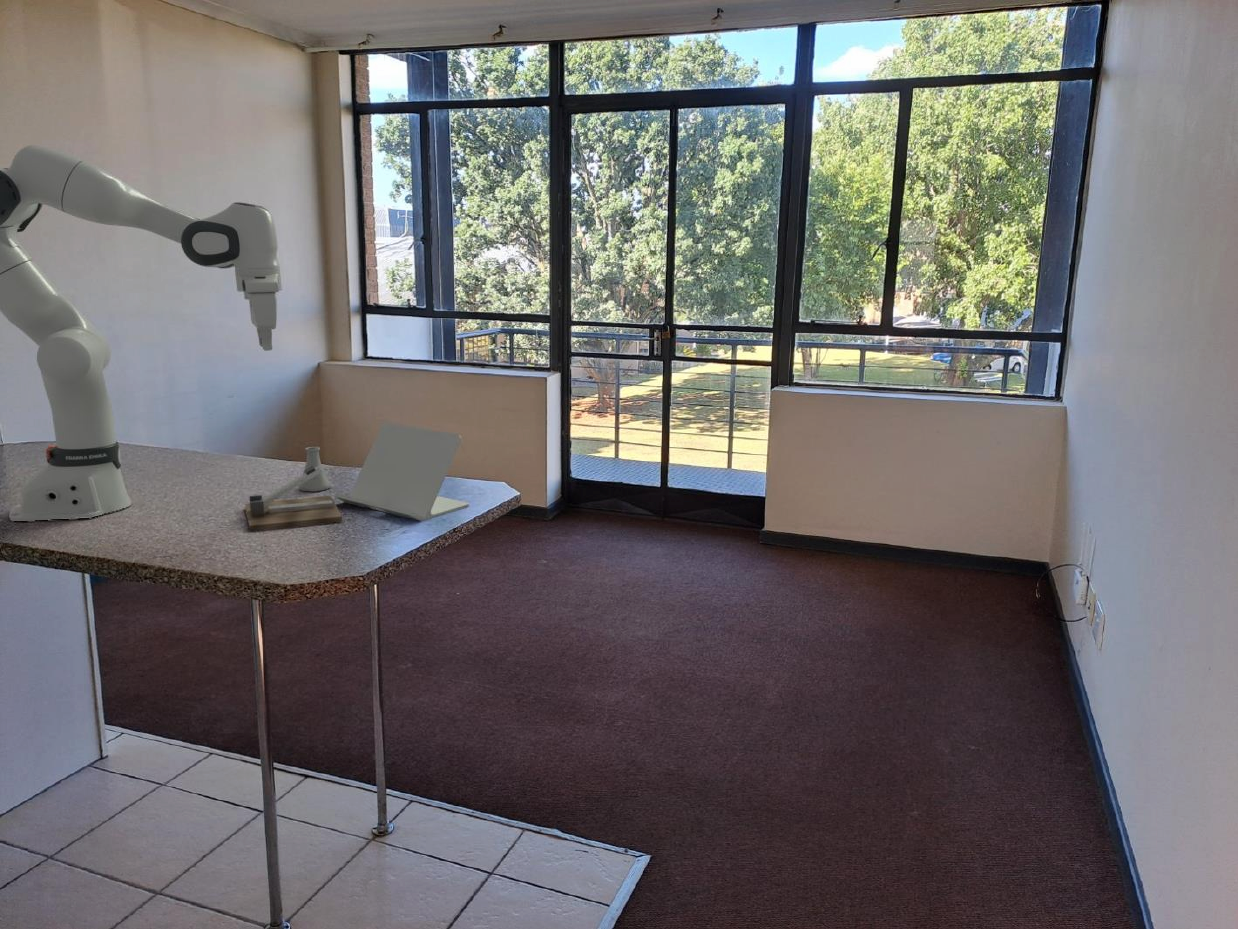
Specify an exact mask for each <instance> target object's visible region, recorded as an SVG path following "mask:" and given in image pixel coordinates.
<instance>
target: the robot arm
mask: <svg viewBox="0 0 1238 929" xmlns="http://www.w3.org/2000/svg"><path fill="white" fill-rule="evenodd" d="M43 205H44V206H45V205H46V206H48V207H50V208H53V209H55V210H58V211H60V212H63V213H66V214H67V215H70V216H73V217H75V218H78V219H81V220H85V221H89V222H91V223H96V224H101V225H106V226H107V225H108V226H115V227H116V226H117V227H127V228H135V229H140V230H144V231H148V232H151V233H153V234H156V235H158V236H161V237H163V238H166V239H168V240H171V241H174V242H175V243H178V244H180V245H181V249H182V251H183V253H184V254H185V256H186V258H188V259H189V260H190V261H191V262H193V263H194V264H196V265H199V266H201V267H204V268H218V269H230V268H233V267H234V272H235V273H234V274H235V282H236V292H243V295H244V298H243V299H244V300H248V301H249V302H248V303H249V312H250V320H251V324H252V325H253V326H254V327H255V328H256V332H257V336H258V343H259V344H258V345H259V346H260V347H262V350H264V351H268V352H269V351H272V350H273V341H272V340H273V331H272V330H275V329H276V328H277V321H278V320H277V319H278V318H277V317H278V316H277V314H278V311H277V308H278V306H277V305H278V304H277V302H278V301H277V298H278V297H277V296H278V295H277V293H279V292H280V291H282V290H283V287H282V278H281V277H282V276H281V268H280V264H279V262H278V258H277V252H278V248H279V247H278V239H277V232H276V231H277V230H276V227H275V221H274V218H273V214H272V213H271V212H270V211H269V210H268V209H267V208H266V207H263V206H262V205H256V204H253V203H248V202H246V203H245V202H241V201H239V202H233V203H231V204H230V205H229V206H228V207H227V208H225V209H223V210H222V211H220V212H217V213H216V214H213V215H211V216H208V217H206V218H205V217H204V218H201V219H199V218H196V217H193V216H191V215H188V214H186V213H184V212H181V211H179V210H176V209H174V208H172V207H169V206H166V205H165V204H162V203H159V202H157V201H155V200H153V199H152V198H150V197H148V196H147V195H145V194H143V193H142V192H140V191H139V190H137V189H136V188H134V187H132V186H131V185H129V184H128V183H126V182H125V181H123V180H121V178H118V177H117V176H115V175H114V174H112V173H110V172H108V171H107V170H105V169H104V168H103V169H102V168H101V167H100V166H97V165H95V164H93V163H91V162H89V161H87V160H84V159H82V158H79V157H77V156H74V155H72V154H69V153H66V152H62V151H60V150H56V149H52V148H49V147H45V146H42V145H41V146H40V145H36V144H33V145H32V144H31V145H27V146H24V147H22V148H21V149H19V151H17V153H16V154H15V155H14V157H13V159H12V162H11V165H10V167H9V168H4V167H3V168H0V312H1V314H2V315H3V316H4V318H6V319H7V320H8V321H9V322H10V323H11V324H12V325H13V326H15V327H16V328H18V329H19V330H20V331H22V333H23V334H25V335H26V336H27V337H28V338H29V339H31V340H32V341H33V342H34V344H36V345H37V346H38V349H37V353H36V363H37V366H38V368H39V369H40V374H41V378H42V382H43V385H44V390H45V392H46V396H47V399H48V403H49V405H50V409H51V414H52V422H53V429H54V437H55V443H56V445H54V444H52V445H51V444H50V445H49V446H48V447H47V448H46V450H45V452H46V453H45V456H46V461H47V465H46V466H45V467H44V468H43V469H41V470H40V471H38V473H36V474H34V476H32V477H31V478H29V480H27V481H26V483H25V484H24V485H23V487H22V489H21V491H20V492H21V493H20V497H19V498H20V499H19V500H20V501H19V502H20V504H18V505H16V506H14V507H12V508H11V509H10V511H9V513H8V514H9V515H8V518H10V519H9V520H10V521H11V522H14V521H28V522H36V521H35V520H48V519H61V518H75V517H93V516H97V515H101V516H102V514H103V513H106V514H109V513H108V512H110V513H112V512H111V511H114V512H117V511H116V510H118V511H120V510H119V509H121V510H123V509H122V508H124V509H126V508H128V507H130V506H131V505H132V504H133V502H132V500H131V498H130V496H129V494H128V491H127V488H126V486H125V485H126V484H125V481H124V478H123V475H122V471H121V466H122V458H121V457H122V454H121V447H120V444H119V442H118V441H117V438H116V429H115V420H114V413H113V406H112V403H111V401H110V398H109V394H108V391H107V385H106V382H105V378H104V369H105V368H106V367H107V366H108V364H109V363H110V359H111V355H112V354H111V347H110V344H109V342H108V340H107V338H106V337H105V336H104V335H103V334H102V333H101V332H100V331H98V329H97V327H95V326H94V325H93V323H92V322H90V321H89V319H87V317H85V316H84V314H82V312H81V311H80V310H79V309H78V308H77V307H75V305H73V303H71V302H70V300H68V299H67V297H65V296H64V294H62V292H61V291H60V290H59V289H58V288H57V286H56V285H54V283H53V282H52V280H51V279H50V278H49V277H48V276H47V275H46V273H45V272H44V271H43V270H42V269H41V267H40V266H39V265H38V263H36V261H35V260H34V259H33V258H32V257H31V256H30V254H29V253H28V252H27V251H26V250H25V248H24V247H23V246H22V244H21V243H20V241H19V239H18V233H21V232H24V231H25V230H26V229H27V227H28V226H29V225H30V223H31V222H32V221H33V220H34V219H35V218H36V216H38V214H39V212H40V211H41V209H42V208H43ZM103 515H104V514H103ZM48 521H49V520H48Z"/></svg>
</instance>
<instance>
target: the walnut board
mask: <svg viewBox="0 0 1238 929" xmlns="http://www.w3.org/2000/svg"><path fill="white" fill-rule="evenodd" d="M329 500H332V502H333V507H332V508H322V509H311V510H301V511H291V512H281V513H271V514H269V508H268V506H276V505H286V504H297V503H308V502H318V501H329ZM244 505H245V513H246V518H247V523H248V528H249V532H256V531H257V532H258V531H266V530H277V528H279V529H287V528H297V526H298V527H305V525H307V526H313V525H312V524H317V525H323V524H322V523H326V524H333V523H332V522H336V523H342V522H343V516H342V514H341V512H340V510H339V509H338V507H337V504H336V503H335V501H334V499H333V498H332V495H326V496H314V497H313V496H311V497H302V498H292V499H281V500H274V501H272V502H270V503H269V504H267V505H265V506H264V516H262V517H252V512H251V509H250V502H249V503H245V504H244Z"/></svg>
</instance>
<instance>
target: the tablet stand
mask: <svg viewBox="0 0 1238 929" xmlns="http://www.w3.org/2000/svg"><path fill="white" fill-rule="evenodd" d="M462 440H463V438H462V436H461V435H459V434H458V433H452V432H446V431H440V430H435V429H427V428H422V427H415V426H411V425H410V426H408V425H402V424H398V423H393V422H392V423H391V422H383V423H382V424H381V426H380V429H379V431H378V433H377V435H376V436H375V439H374V441H373V443H372V445H371V448H370V450H369V451H368V452H369V453H368V454H367V457H366V458H365V461H364V463H363V466H362V468H361V469H360V471H359V474H358V475H357V478H356V481H355V482H354V485H353V487H352V488H351V492H350V493H349V495H347V494H343V493H339V492H335V494H334V498H336V499H337V500H339V501H341V502H344V503H346V502H347V504H350V503H351V505H354V504H355V505H354V506H358V505H359V507H362V506H363V507H362V508H366V507H367V509H370V508H372V509H371V510H375V509H376V510H375V511H379V512H383V513H386V514H391V515H395V516H399V517H404V518H407V519H412V520H415V521H420V522H423V521H424V522H425V521H427V520H430V519H433V518H437V517H439V516H444V515H446V514H449V513H452V512H456V511H459V510H462V509H465V508H468V507H470V503H469V502H467V501H462V500H457V499H454V498H453V499H452V498H447V497H444V496H438V495H439V493H440V490H441V488H442V486H443V483H444V481H445V479H446V476H447V474H448V472H449V469H450V467H451V465H452V463H453V461H454V459H455V456H456V454H457V451H458V449H459V447H460V444H461V441H462Z"/></svg>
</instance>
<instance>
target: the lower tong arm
mask: <svg viewBox="0 0 1238 929" xmlns="http://www.w3.org/2000/svg"><path fill="white" fill-rule="evenodd" d="M261 499H263V495H262V494H255V495H249V503H250V509H251V512H252V517H262V516H264V504H263V501H253V500H261ZM252 501H253V502H252ZM332 507H333V502H332V500H329V501H318V502H308V503H297V504H286V505H276V506H268V508H269V514H271V513H281V512H291V511H301V510H311V509H322V508H332Z"/></svg>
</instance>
